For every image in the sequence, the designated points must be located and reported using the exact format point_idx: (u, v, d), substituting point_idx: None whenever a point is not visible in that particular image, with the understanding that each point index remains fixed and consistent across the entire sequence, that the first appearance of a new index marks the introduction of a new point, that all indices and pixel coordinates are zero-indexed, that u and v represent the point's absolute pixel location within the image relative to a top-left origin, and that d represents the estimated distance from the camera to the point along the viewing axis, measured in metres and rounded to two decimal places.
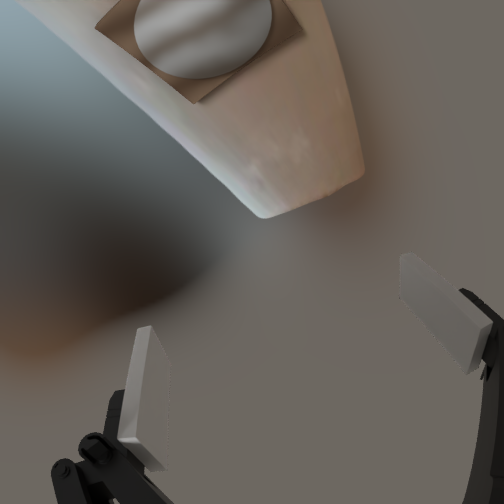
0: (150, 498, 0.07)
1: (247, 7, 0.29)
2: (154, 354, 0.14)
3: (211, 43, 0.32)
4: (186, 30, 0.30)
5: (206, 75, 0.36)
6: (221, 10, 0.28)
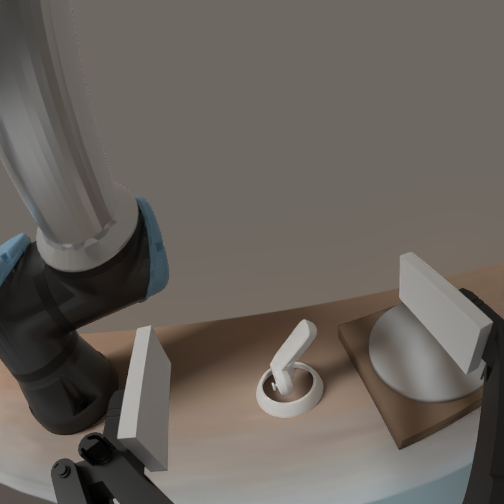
0: (150, 498, 0.07)
1: None
2: (154, 354, 0.14)
3: None
4: (441, 353, 0.29)
5: None
6: (425, 327, 0.33)
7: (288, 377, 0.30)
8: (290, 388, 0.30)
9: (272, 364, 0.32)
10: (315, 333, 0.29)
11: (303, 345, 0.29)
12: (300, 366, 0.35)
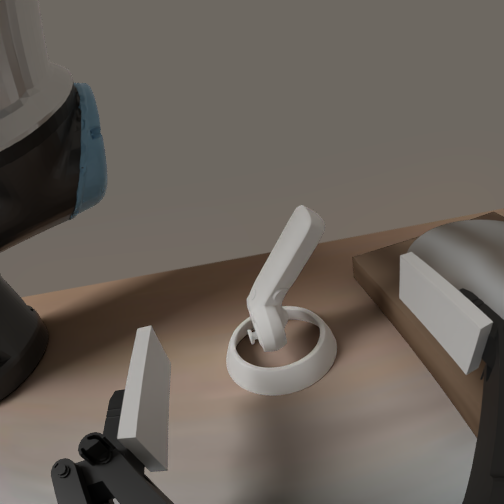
0: (150, 498, 0.07)
1: (475, 233, 0.23)
2: (154, 354, 0.14)
3: None
4: None
5: None
6: (482, 250, 0.20)
7: (275, 318, 0.18)
8: (280, 337, 0.17)
9: (249, 298, 0.19)
10: (321, 224, 0.16)
11: (300, 249, 0.16)
12: (298, 313, 0.23)
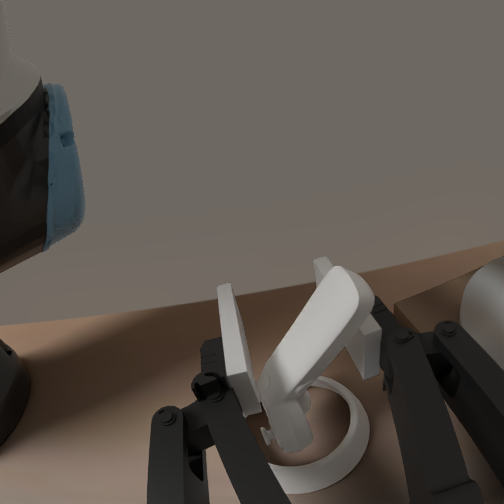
0: (249, 445, 0.08)
1: None
2: (236, 307, 0.16)
3: None
4: None
5: None
6: None
7: (299, 417, 0.12)
8: (305, 440, 0.11)
9: (260, 385, 0.13)
10: (371, 299, 0.10)
11: (340, 336, 0.10)
12: (318, 383, 0.17)
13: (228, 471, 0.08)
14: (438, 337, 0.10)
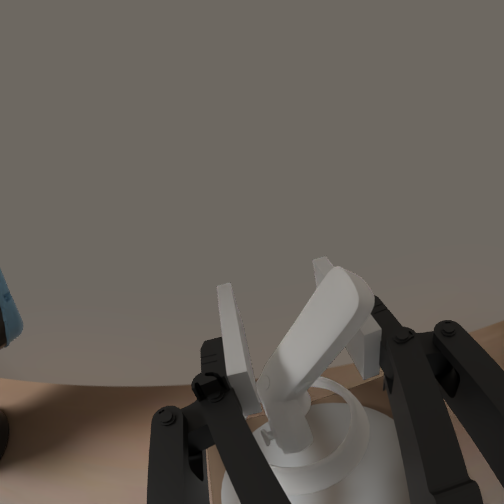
0: (249, 445, 0.08)
1: (325, 427, 0.24)
2: (236, 307, 0.16)
3: (362, 480, 0.18)
4: None
5: None
6: (314, 456, 0.22)
7: (299, 418, 0.12)
8: (305, 441, 0.11)
9: (260, 386, 0.13)
10: (372, 300, 0.10)
11: (339, 337, 0.10)
12: (318, 384, 0.17)
13: (228, 471, 0.08)
14: (438, 337, 0.10)
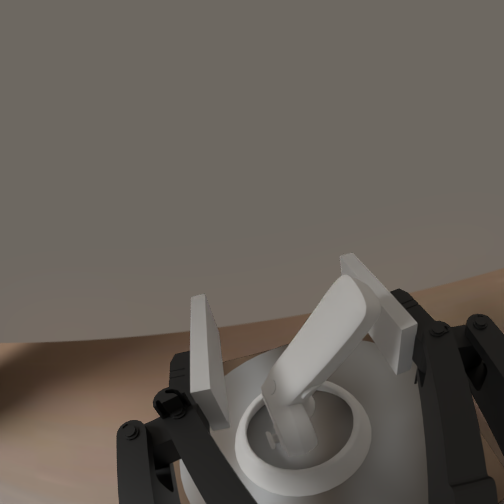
0: (215, 459, 0.08)
1: None
2: (209, 319, 0.16)
3: None
4: None
5: None
6: None
7: (304, 422, 0.12)
8: (310, 444, 0.12)
9: (266, 390, 0.14)
10: (378, 308, 0.10)
11: (346, 343, 0.11)
12: (321, 387, 0.17)
13: (198, 486, 0.07)
14: (470, 329, 0.10)
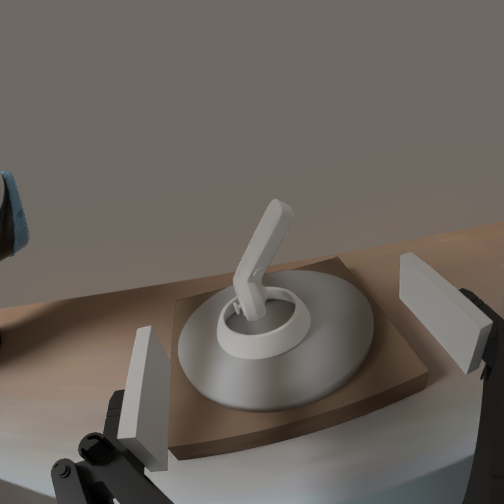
0: (150, 497, 0.07)
1: (279, 286, 0.30)
2: (154, 354, 0.14)
3: None
4: None
5: (366, 335, 0.22)
6: (267, 306, 0.28)
7: (256, 291, 0.22)
8: (260, 307, 0.22)
9: (234, 277, 0.24)
10: (290, 214, 0.20)
11: (273, 233, 0.20)
12: (277, 293, 0.27)
13: None
14: None
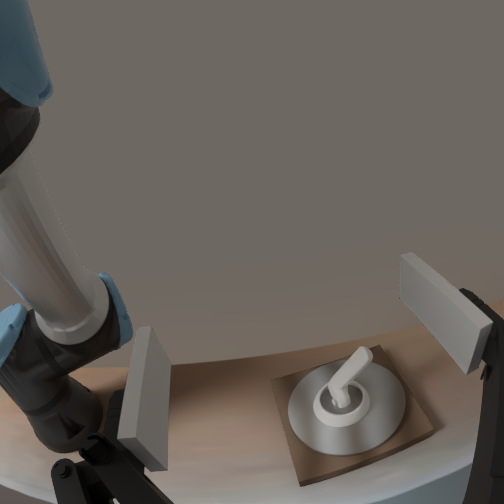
0: (150, 497, 0.07)
1: None
2: (154, 354, 0.14)
3: None
4: None
5: (401, 409, 0.34)
6: None
7: (346, 394, 0.35)
8: (348, 402, 0.34)
9: (331, 383, 0.36)
10: (372, 357, 0.33)
11: (362, 367, 0.33)
12: None
13: None
14: None
